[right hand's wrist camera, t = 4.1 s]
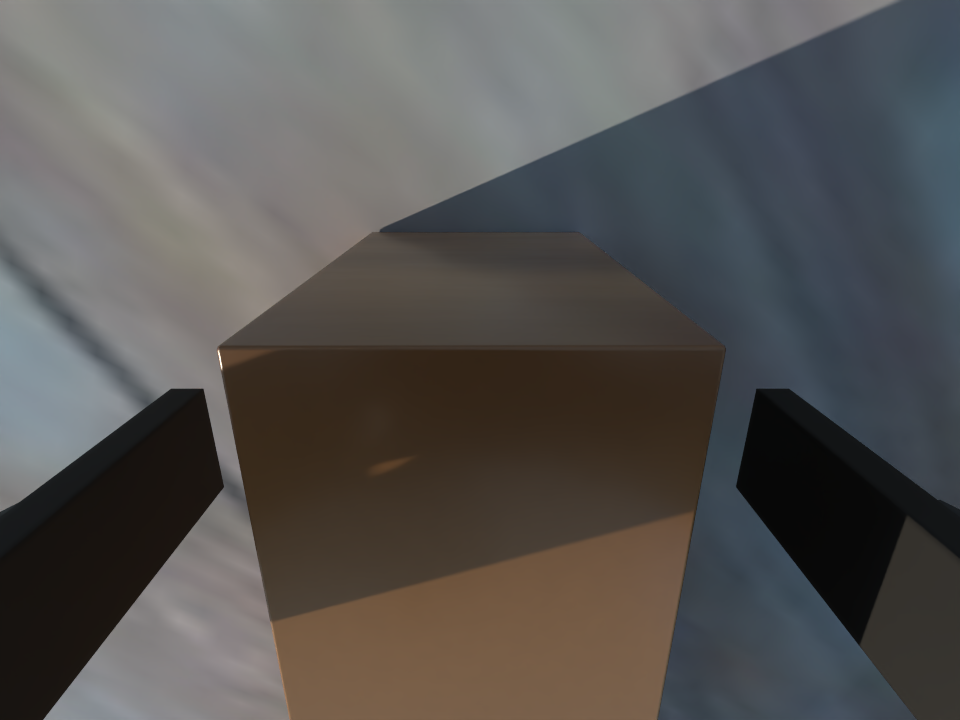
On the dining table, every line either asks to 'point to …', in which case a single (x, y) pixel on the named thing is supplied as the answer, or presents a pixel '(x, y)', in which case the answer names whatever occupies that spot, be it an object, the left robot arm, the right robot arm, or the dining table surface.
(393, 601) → the bar
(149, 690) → the dining table surface
